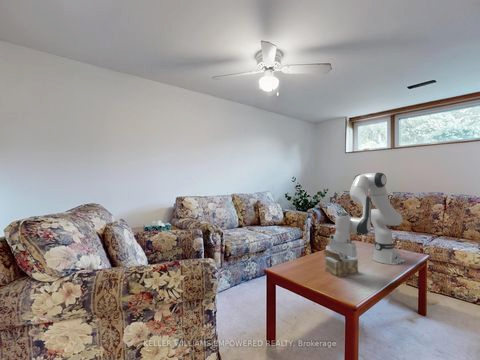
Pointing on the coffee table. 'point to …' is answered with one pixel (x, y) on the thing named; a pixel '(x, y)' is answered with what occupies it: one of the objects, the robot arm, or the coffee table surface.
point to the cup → (331, 249)
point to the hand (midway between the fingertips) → (342, 259)
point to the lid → (347, 259)
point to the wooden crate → (341, 267)
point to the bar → (332, 255)
